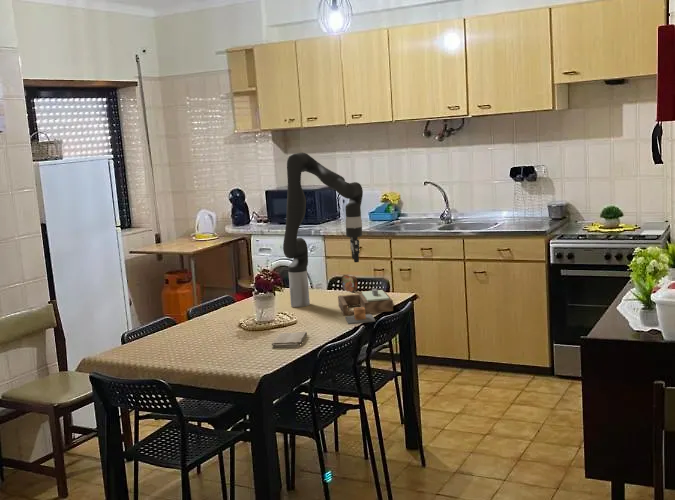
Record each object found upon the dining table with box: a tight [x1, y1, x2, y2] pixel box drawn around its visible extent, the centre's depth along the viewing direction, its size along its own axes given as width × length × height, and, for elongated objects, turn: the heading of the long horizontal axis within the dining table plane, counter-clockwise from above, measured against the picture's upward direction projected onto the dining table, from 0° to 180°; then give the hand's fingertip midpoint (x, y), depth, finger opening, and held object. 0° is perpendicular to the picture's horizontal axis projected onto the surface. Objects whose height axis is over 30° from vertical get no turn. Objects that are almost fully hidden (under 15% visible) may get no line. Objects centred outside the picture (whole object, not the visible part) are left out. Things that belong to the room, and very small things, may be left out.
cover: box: [361, 288, 390, 302], centre depth 363 cm, size 10×19×3 cm, turn 6°
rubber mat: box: [344, 313, 376, 325], centre depth 342 cm, size 12×12×1 cm
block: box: [353, 306, 367, 320], centre depth 342 cm, size 4×4×4 cm
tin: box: [341, 274, 358, 293], centre depth 406 cm, size 15×3×8 cm, turn 25°
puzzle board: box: [337, 290, 394, 317], centre depth 363 cm, size 23×21×5 cm
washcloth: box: [271, 331, 308, 349], centre depth 313 cm, size 12×18×3 cm, turn 173°
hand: (355, 260), depth 357 cm, fingers open, 8 cm apart
